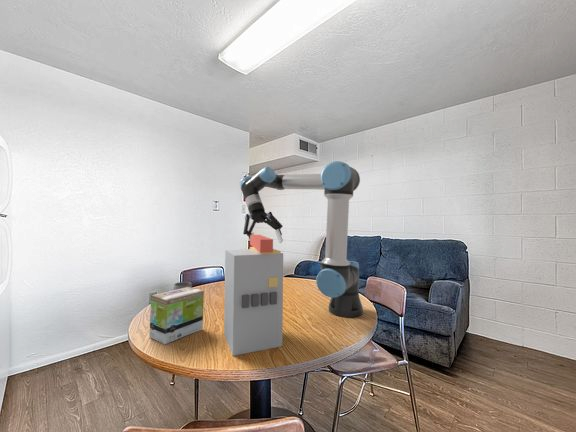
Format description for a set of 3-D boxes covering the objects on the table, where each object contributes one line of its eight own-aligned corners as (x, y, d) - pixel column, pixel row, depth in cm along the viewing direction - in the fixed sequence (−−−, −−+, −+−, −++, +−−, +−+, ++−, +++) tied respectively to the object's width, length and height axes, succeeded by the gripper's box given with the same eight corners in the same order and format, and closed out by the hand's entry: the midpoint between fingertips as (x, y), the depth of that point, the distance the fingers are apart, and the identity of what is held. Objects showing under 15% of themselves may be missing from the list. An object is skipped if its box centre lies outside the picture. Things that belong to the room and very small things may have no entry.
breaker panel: (224, 334, 91) (225, 250, 92) (266, 327, 98) (267, 248, 98) (233, 357, 76) (235, 256, 76) (283, 347, 82) (284, 253, 83)
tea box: (166, 345, 83) (167, 299, 83) (148, 338, 88) (149, 294, 88) (203, 329, 95) (204, 289, 96) (186, 323, 101) (187, 285, 101)
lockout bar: (250, 244, 106) (250, 234, 106) (259, 244, 107) (259, 234, 107) (260, 252, 79) (260, 239, 79) (272, 252, 80) (273, 239, 80)
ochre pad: (249, 249, 96) (249, 247, 96) (265, 248, 98) (265, 246, 98) (262, 254, 81) (262, 251, 81) (280, 253, 83) (280, 251, 83)
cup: (195, 305, 122) (195, 284, 122) (173, 309, 117) (174, 287, 117) (190, 300, 130) (190, 280, 130) (170, 303, 124) (170, 283, 125)
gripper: (273, 207, 136) (287, 243, 128) (228, 211, 122) (241, 252, 114) (279, 199, 131) (294, 236, 123) (233, 203, 117) (247, 245, 109)
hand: (269, 244), depth 119 cm, fingers open, 13 cm apart
